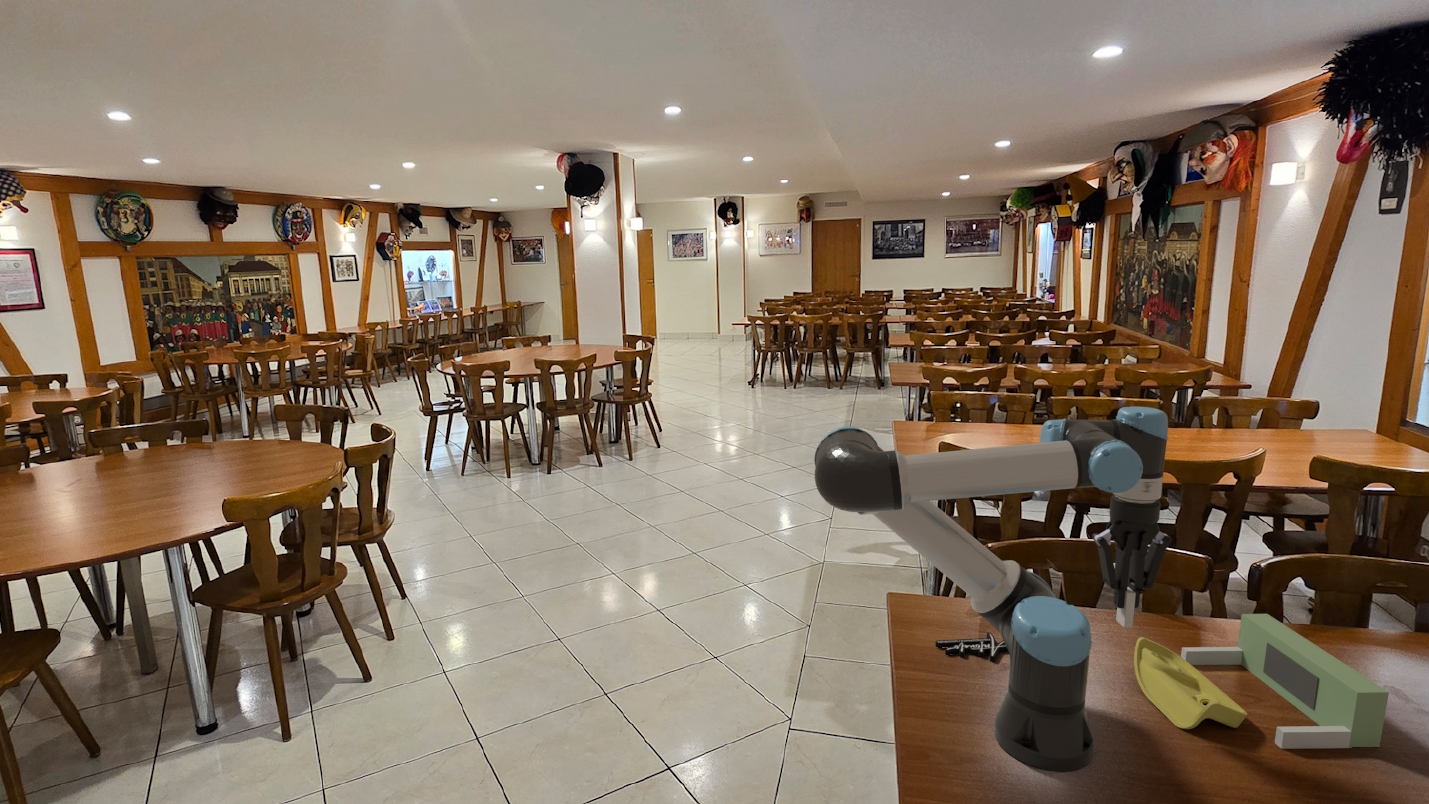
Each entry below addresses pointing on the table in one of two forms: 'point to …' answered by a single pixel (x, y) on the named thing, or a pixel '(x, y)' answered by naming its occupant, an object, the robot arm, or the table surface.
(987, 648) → the nameplate
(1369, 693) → the green sign stand
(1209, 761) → the table surface
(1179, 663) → the plastic component
